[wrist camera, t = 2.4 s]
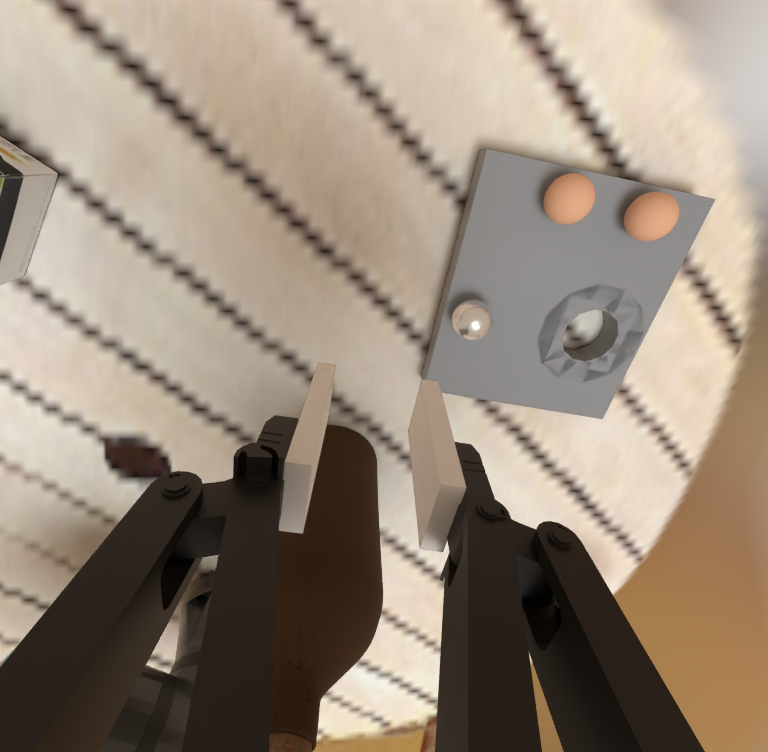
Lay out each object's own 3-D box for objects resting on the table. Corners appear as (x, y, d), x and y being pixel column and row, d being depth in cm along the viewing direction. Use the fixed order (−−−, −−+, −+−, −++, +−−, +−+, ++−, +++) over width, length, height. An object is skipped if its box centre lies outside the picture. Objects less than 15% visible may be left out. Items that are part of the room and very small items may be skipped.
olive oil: (380, 417, 40) (377, 724, 18) (385, 497, 45) (387, 818, 23) (274, 421, 40) (140, 730, 18) (290, 501, 45) (200, 822, 23)
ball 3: (607, 233, 30) (631, 239, 27) (627, 186, 29) (654, 188, 26) (647, 241, 30) (675, 248, 27) (668, 195, 29) (700, 198, 26)
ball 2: (530, 217, 29) (546, 222, 27) (546, 168, 28) (565, 168, 25) (572, 225, 30) (592, 231, 27) (589, 178, 28) (613, 179, 25)
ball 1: (444, 328, 33) (450, 343, 30) (454, 291, 32) (461, 302, 29) (481, 335, 34) (491, 350, 31) (493, 298, 32) (504, 310, 29)
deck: (421, 376, 38) (423, 389, 36) (479, 150, 30) (487, 148, 27) (590, 405, 40) (602, 419, 37) (691, 197, 31) (715, 199, 29)
